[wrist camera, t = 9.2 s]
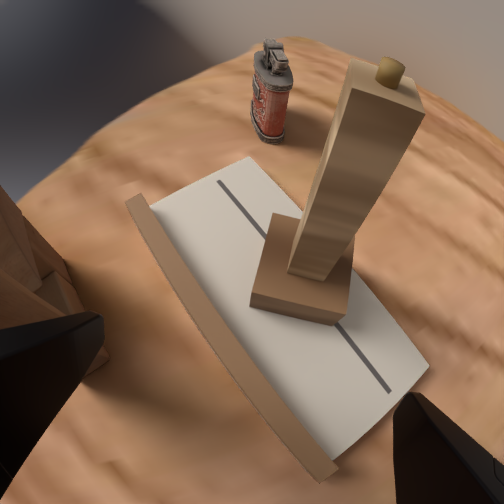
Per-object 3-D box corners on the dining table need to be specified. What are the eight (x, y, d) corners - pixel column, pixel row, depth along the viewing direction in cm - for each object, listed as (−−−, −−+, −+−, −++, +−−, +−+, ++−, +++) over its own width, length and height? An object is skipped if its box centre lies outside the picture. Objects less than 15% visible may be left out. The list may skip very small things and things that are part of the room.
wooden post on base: (331, 326, 20) (499, 156, 6) (249, 306, 21) (283, 76, 6) (342, 253, 23) (449, 63, 8) (268, 234, 24) (308, 14, 9)
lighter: (246, 102, 34) (250, 31, 25) (273, 101, 34) (282, 31, 26) (257, 145, 30) (265, 62, 22) (289, 143, 31) (304, 63, 22)
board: (419, 368, 20) (444, 361, 17) (306, 471, 17) (319, 483, 14) (248, 166, 29) (250, 140, 26) (135, 225, 25) (124, 201, 22)
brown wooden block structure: (62, 255, 23) (-53, 101, 7) (112, 359, 20) (-89, 240, 4) (33, 277, 22) (-94, 142, 6) (78, 382, 19) (-130, 303, 3)
